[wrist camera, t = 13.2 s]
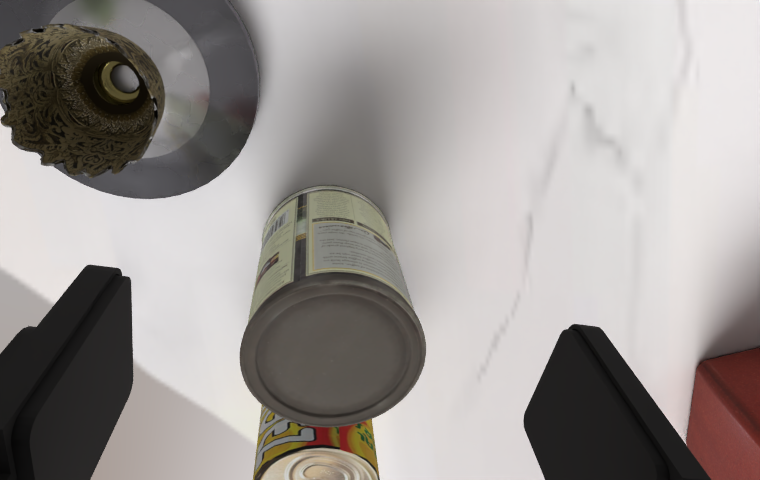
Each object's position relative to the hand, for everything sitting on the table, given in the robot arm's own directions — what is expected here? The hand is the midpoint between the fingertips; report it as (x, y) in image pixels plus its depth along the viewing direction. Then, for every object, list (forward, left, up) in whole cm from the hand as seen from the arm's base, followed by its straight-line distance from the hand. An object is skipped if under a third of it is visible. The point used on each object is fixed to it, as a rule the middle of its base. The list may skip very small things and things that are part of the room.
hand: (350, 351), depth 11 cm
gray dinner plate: (+1, -12, -28) cm, 30 cm away
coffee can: (+12, +2, -28) cm, 30 cm away
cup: (0, -12, -26) cm, 29 cm away
